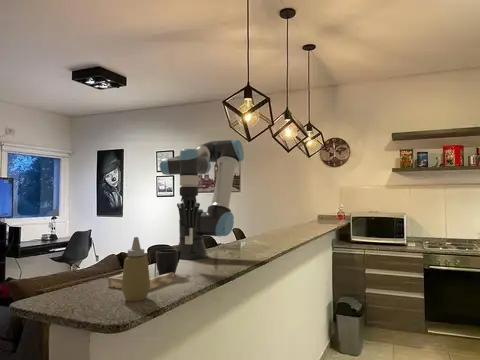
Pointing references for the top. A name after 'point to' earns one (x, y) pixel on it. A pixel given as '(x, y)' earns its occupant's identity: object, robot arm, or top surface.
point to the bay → (154, 282)
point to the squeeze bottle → (135, 274)
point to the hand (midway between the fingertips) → (188, 243)
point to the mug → (167, 260)
